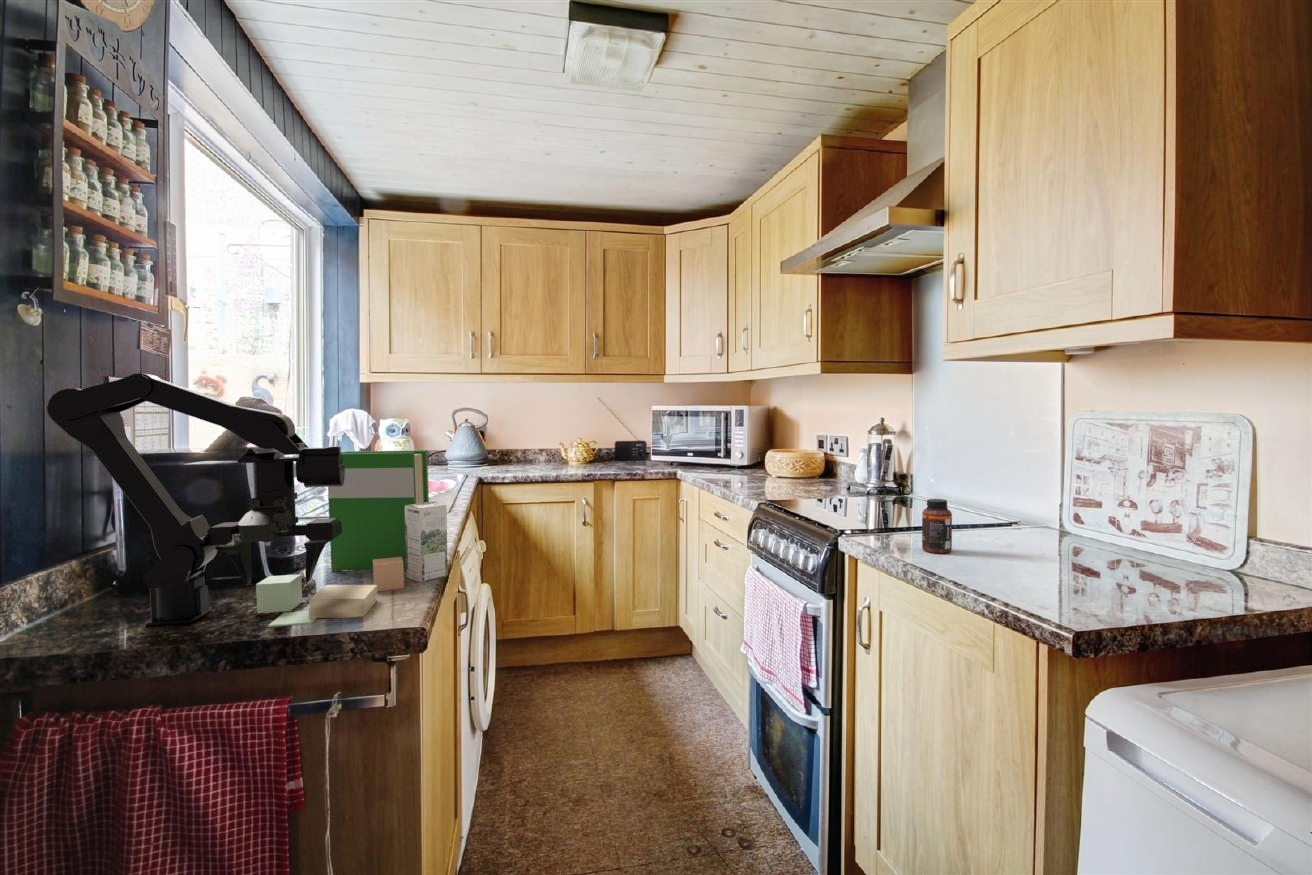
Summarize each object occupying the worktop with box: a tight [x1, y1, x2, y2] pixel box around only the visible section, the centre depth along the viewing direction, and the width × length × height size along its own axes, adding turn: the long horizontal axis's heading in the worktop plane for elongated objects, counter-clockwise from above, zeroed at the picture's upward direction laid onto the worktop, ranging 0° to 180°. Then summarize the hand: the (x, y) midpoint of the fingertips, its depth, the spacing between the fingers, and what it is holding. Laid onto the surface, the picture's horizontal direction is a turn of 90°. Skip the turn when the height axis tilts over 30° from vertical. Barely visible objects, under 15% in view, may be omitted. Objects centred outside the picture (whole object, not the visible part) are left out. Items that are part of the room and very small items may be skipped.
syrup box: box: [405, 501, 449, 583], centre depth 122 cm, size 6×6×14 cm
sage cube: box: [255, 573, 303, 614], centre depth 105 cm, size 5×5×5 cm
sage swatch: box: [268, 610, 318, 628], centre depth 99 cm, size 6×6×1 cm
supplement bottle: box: [921, 498, 953, 554], centre depth 138 cm, size 6×6×11 cm
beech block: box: [308, 584, 378, 619], centre depth 103 cm, size 8×8×3 cm
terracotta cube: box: [372, 557, 405, 592], centre depth 116 cm, size 5×5×5 cm
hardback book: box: [327, 450, 430, 570], centre depth 131 cm, size 18×7×24 cm, turn 88°
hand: (278, 582), depth 104 cm, fingers open, 9 cm apart
